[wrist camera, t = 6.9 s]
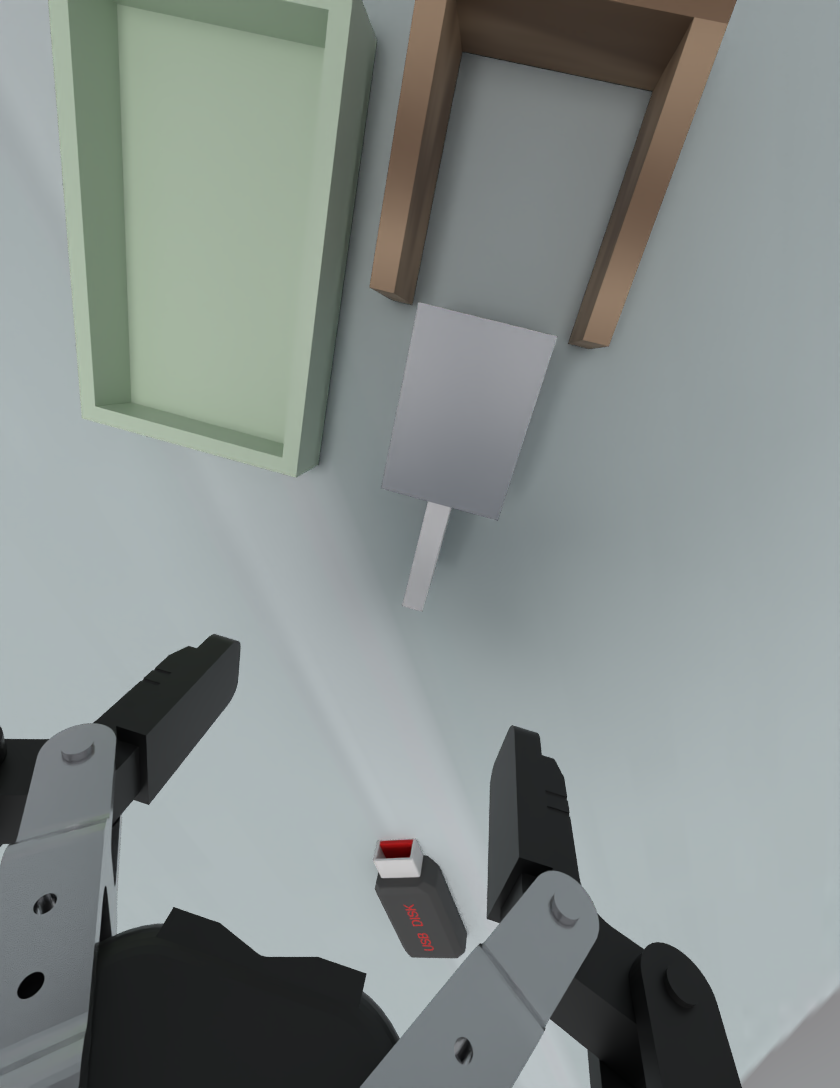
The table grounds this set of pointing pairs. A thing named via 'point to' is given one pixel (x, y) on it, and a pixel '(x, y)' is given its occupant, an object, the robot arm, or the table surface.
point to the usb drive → (418, 900)
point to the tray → (210, 213)
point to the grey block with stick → (461, 422)
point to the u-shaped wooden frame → (566, 46)
